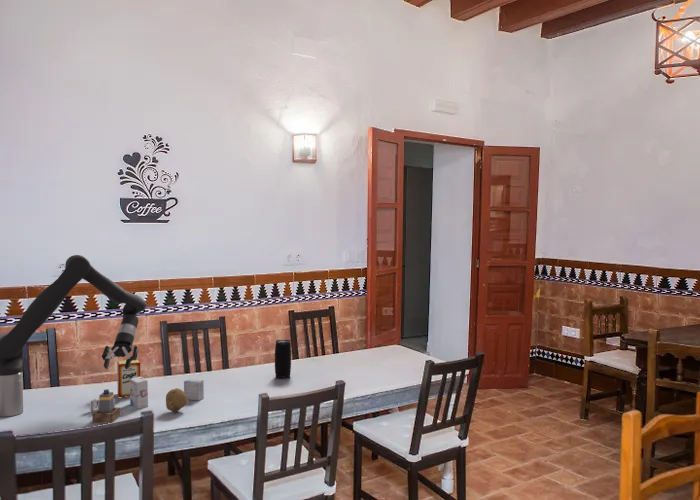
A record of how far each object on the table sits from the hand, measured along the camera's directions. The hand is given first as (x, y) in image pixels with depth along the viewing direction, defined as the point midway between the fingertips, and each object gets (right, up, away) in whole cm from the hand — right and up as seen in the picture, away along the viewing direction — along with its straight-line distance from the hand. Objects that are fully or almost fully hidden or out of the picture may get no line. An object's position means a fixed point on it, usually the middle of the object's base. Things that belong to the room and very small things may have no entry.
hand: (115, 368), depth 235 cm
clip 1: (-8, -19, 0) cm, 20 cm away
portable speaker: (+65, -17, +57) cm, 88 cm away
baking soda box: (-4, -18, +24) cm, 30 cm away
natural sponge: (+26, -19, 0) cm, 32 cm away
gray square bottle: (0, -18, -10) cm, 21 cm away
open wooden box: (0, -19, -10) cm, 21 cm away
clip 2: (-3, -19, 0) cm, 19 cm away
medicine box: (+28, -18, +18) cm, 38 cm away
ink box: (+7, -19, +8) cm, 21 cm away
